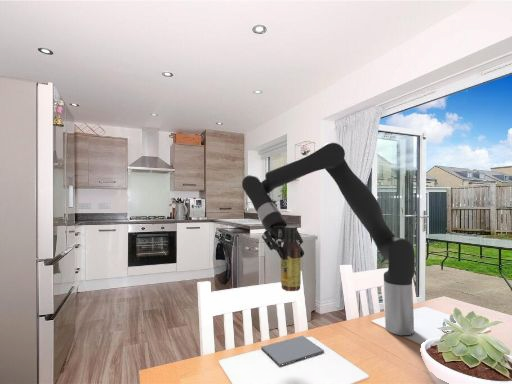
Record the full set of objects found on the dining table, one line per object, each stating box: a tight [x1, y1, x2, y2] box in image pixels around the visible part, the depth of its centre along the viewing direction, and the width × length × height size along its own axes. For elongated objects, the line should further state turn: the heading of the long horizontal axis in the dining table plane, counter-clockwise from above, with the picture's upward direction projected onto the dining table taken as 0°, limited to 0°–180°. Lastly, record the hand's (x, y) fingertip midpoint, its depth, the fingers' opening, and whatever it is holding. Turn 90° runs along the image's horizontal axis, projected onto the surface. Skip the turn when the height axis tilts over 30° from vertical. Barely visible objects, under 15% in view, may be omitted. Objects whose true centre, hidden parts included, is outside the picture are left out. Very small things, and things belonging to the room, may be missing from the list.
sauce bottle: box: [280, 225, 302, 292], centre depth 88 cm, size 6×6×20 cm
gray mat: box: [261, 335, 325, 366], centre depth 86 cm, size 16×11×1 cm
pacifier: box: [442, 313, 456, 334], centre depth 98 cm, size 7×6×6 cm
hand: (294, 257), depth 86 cm, fingers closed on sauce bottle, 6 cm apart
